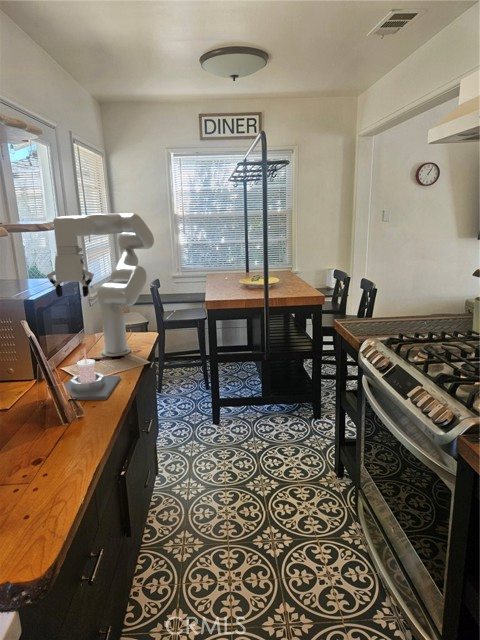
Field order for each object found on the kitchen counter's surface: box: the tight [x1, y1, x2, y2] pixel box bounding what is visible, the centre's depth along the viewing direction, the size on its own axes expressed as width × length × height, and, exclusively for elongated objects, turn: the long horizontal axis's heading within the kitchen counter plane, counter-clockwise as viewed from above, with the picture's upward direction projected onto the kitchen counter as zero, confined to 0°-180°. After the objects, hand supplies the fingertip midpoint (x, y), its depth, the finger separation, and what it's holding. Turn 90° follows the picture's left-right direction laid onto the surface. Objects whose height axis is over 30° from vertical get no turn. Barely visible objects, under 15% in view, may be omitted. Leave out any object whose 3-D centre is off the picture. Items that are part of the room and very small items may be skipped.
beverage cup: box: [76, 348, 96, 382], centre depth 144 cm, size 6×6×14 cm
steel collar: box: [71, 371, 105, 392], centre depth 146 cm, size 10×10×3 cm
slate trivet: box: [63, 375, 121, 401], centre depth 146 cm, size 18×18×1 cm
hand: (72, 296), depth 156 cm, fingers open, 9 cm apart
